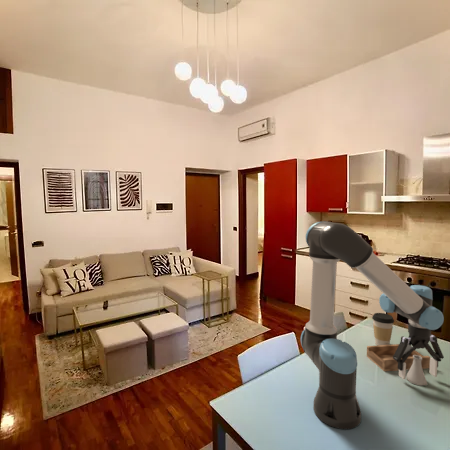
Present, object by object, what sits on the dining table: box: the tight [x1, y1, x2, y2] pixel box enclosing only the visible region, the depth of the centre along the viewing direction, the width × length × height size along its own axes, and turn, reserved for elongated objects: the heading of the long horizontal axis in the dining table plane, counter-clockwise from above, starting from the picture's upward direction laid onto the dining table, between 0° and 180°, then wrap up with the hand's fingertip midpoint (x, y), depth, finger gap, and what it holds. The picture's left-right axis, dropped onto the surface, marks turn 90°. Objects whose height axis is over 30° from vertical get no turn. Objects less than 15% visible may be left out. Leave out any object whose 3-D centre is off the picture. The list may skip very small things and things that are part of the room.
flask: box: [405, 355, 428, 387], centre depth 115 cm, size 7×7×10 cm
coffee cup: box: [371, 312, 395, 346], centre depth 145 cm, size 10×10×15 cm
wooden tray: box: [366, 343, 431, 372], centre depth 129 cm, size 21×12×5 cm, turn 96°
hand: (417, 376), depth 115 cm, fingers open, 13 cm apart
